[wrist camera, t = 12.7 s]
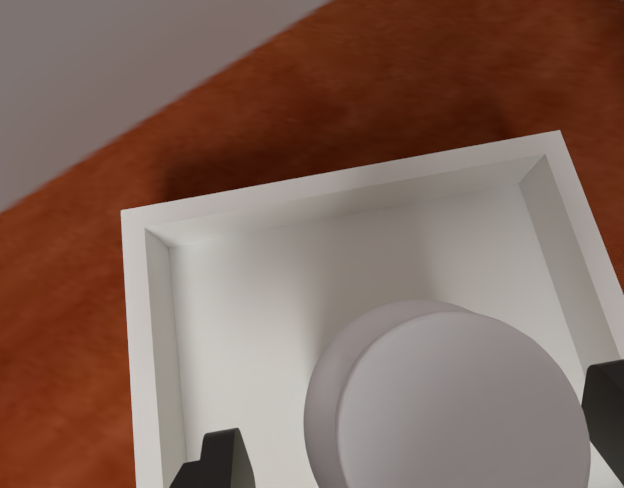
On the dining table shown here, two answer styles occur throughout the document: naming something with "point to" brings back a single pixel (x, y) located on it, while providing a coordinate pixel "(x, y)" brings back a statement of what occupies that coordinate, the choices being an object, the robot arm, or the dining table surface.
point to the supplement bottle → (441, 405)
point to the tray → (349, 288)
